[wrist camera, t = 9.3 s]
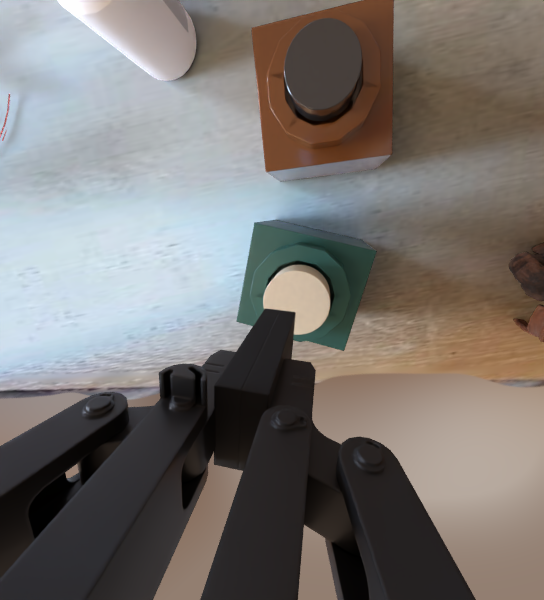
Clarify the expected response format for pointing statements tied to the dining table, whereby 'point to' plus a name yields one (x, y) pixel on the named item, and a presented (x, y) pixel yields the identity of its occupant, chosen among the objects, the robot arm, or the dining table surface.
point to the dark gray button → (323, 68)
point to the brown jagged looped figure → (531, 286)
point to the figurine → (5, 118)
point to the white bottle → (143, 32)
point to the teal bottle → (319, 255)
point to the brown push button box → (346, 126)
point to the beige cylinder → (300, 296)
